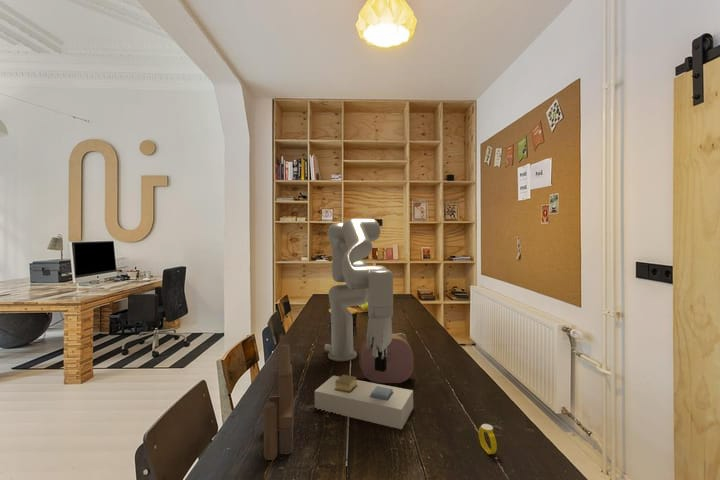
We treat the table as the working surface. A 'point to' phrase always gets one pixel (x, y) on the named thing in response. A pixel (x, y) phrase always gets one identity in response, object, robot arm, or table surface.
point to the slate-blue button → (381, 393)
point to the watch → (489, 430)
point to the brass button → (346, 383)
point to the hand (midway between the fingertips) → (380, 370)
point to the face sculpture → (388, 361)
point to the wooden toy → (280, 411)
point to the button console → (366, 403)
